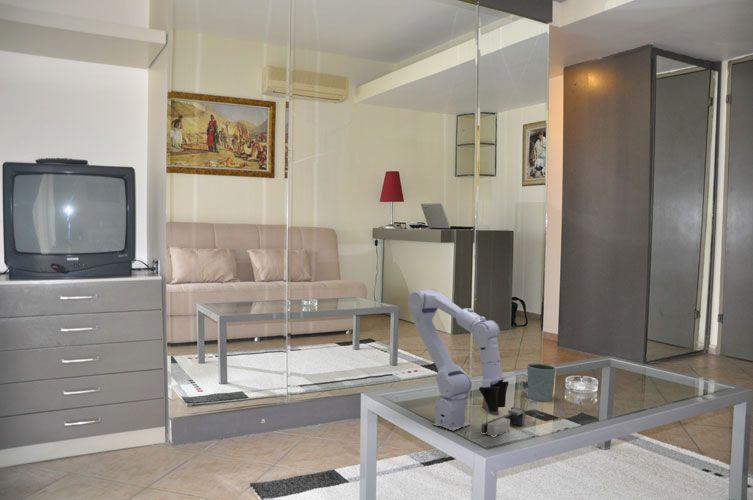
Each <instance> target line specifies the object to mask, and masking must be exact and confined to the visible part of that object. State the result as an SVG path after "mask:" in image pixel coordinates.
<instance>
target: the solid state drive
mask: <svg viewBox="0 0 753 500" xmlns="http://www.w3.org/2000/svg"><path fill="white" fill-rule="evenodd" d="M525 416H529V417H532V418H535V419H538V420H540V421H543V422H548V421H549V422H550V421H553V420H557V419H559V417H558V416H555V415H553V414H551V413H547V412H545V411H544V412H543V411H540V410H538V409H535V408H533V409H529V410H525Z"/></svg>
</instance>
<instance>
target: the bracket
mask: <svg viewBox="0 0 753 500" xmlns="http://www.w3.org/2000/svg"><path fill="white" fill-rule="evenodd" d="M525 411H526V409H523V408H519V407H516V406H512V407H510V409H508V410H507V414H505V415H502V416H499V417H496V418H494V419H492V420H489V421H487V422H484V423H481V429H480V433H481V432H482V433H486V432H487V426H488V423H491V422H493V421H496V420H498V419H501V418H506V419H510V425H512V424H515V425H518V426H525V419H526V414H525Z"/></svg>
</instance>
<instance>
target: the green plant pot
mask: <svg viewBox="0 0 753 500" xmlns="http://www.w3.org/2000/svg"><path fill="white" fill-rule="evenodd" d="M526 369H527V389H528V390H527V397H528V399H529V400H532V401H535V402H540V403H541V402H542V403H545V402H546V403H548V402H552V400H553V392H554V385H555V378H556V377H555V376H556V369H557V368H556V366H554V365H551V364H546V363H536V362H535V363H528V364H527V368H526Z"/></svg>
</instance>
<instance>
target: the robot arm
mask: <svg viewBox="0 0 753 500" xmlns="http://www.w3.org/2000/svg"><path fill="white" fill-rule="evenodd" d="M407 305H408V307H409V309H410V311H411V314H412V321H413V324H414V326H415V328H416V329H417V332H418V333H419V336H420V338H421V341H422V342H423V343H424V345H425V347H426V349H427V351H428V353H429V355H430V357H431V360H432V361H433V363H434V365H435V367H436V369H437V371H438V372H437V373H436V376H435V380H436V383H437V386H438V387H437V389H438V391H439V393H440V394H441V398H440V399H439V400H438V401H437V402H436V404H435V408H434V410H435V412H434V422H435V423H438V424H440V425H442V426H445V427H447V428H454V427H463V428H465V427H464V426H466V427H468V425H469V426H471V424H470V423H469V422H466V421H465V417H466V414H465V413H466V405H467V404H466V402H467V397H468V393H469V392H470V391H471V390H472V380H471V377H470V376H469V375H468V374H467V373H466V372H465V371H464V369H463V367H461V366H459V365H458V364H456V363H455V362H454V361H453V359H452V356H451V355H450V353H449V351H448V349H447V347H446V346H445V344H444V341H443V340H442V337H441V336H440V333H439V331H438V330H437V328H436V327H435V324H434V323H433V318H434V317H435V315H436V313H437V312H438V310H440V311H442V312H444V313H445V314H447V315H449V316H451V317H452V318H454V319H456V324H457V325H459V326H460V327H462V328H464V329H465V330H466V331H468V332H469V333H471V334H472V338H473V339H474V340H475V341H476V344H477V345H476V346H478V351H479V359H480V367H481V372H482V380H481V384H482V386H480V387H479V388H478V390H479V392H480V393H481V395H482V396H484V398H485V401H486V403H487V406H488V408H489V411H490V412H497V410H498V411H499V409H498V407H499V408H505V407H506V399H507V390H508V386H509V381H505V380H506V379H508V376H507V375H504V374H503V368H502V363H501V354H500V349H499V343H498V342H499V341H498V338H499V336H500V334H501V329H500V326H499V324H498V323H497V322H496V321H495V320H492V319H488V320H487V319H486V317H485V316H481V315H480V314H478V313H476V312H474V311H475V310H474V308H468V307H467V308H466V307H464V308H462V307H459V305H457V304H455V303H454V302H453V301H451V300H450V299H449V298H447V297H446V296H445V295H444V294H443V293H442V292H440V291H438V290H437V289H433V288H432V289H424V290H423V289H422V290H419V289H418V290H417V289H415V290H412V292H411V293H410V294H409V298H408V301H407Z"/></svg>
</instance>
